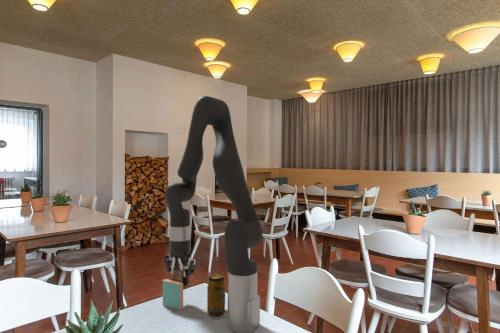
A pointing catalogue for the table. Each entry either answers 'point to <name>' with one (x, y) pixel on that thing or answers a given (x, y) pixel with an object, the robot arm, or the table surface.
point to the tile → (173, 294)
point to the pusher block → (178, 275)
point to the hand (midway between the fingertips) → (180, 284)
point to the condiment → (216, 297)
